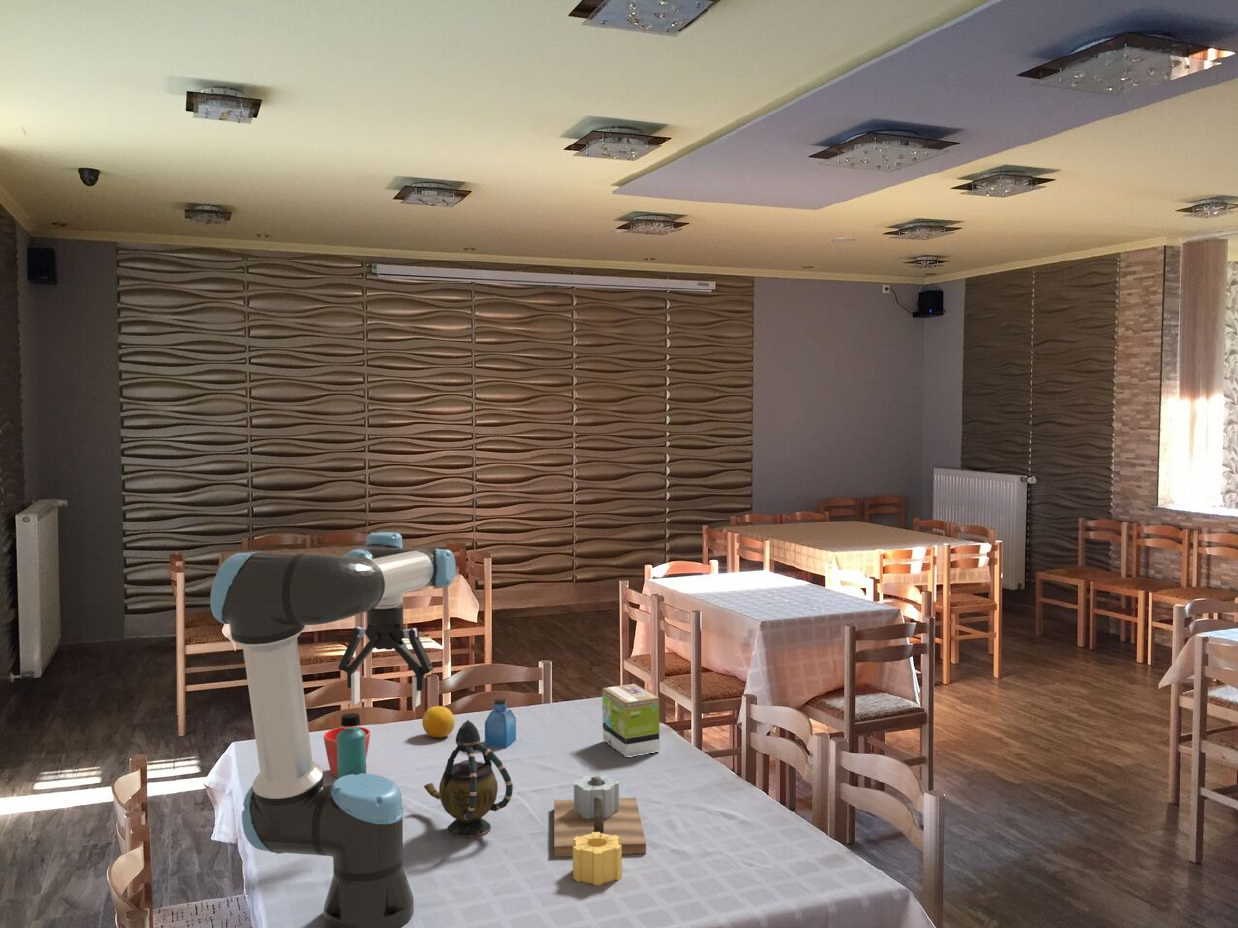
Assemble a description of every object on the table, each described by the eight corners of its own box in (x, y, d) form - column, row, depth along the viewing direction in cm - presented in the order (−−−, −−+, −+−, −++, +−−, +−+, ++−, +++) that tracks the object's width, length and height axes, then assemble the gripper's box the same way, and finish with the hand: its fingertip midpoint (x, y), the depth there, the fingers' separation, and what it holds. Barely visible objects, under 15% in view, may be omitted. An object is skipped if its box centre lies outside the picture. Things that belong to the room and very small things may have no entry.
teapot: (468, 851, 198) (467, 735, 197) (403, 815, 217) (402, 709, 216) (517, 834, 207) (517, 723, 206) (450, 800, 225) (449, 698, 224)
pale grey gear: (626, 812, 213) (626, 784, 212) (590, 822, 208) (590, 793, 207) (602, 798, 220) (601, 771, 220) (566, 807, 215) (566, 780, 215)
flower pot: (373, 776, 241) (373, 736, 240) (326, 782, 237) (325, 741, 236) (367, 762, 251) (367, 723, 250) (322, 768, 246) (321, 729, 246)
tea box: (601, 741, 266) (601, 686, 265) (635, 736, 270) (635, 682, 269) (625, 759, 252) (625, 701, 252) (660, 753, 257) (660, 696, 256)
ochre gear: (622, 884, 184) (622, 852, 184) (573, 886, 184) (573, 853, 183) (619, 861, 194) (619, 831, 193) (572, 863, 193) (572, 832, 193)
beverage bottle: (359, 809, 220) (358, 719, 219) (331, 807, 221) (330, 717, 221) (372, 798, 226) (371, 711, 226) (345, 796, 228) (344, 709, 227)
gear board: (646, 853, 197) (645, 808, 197) (554, 856, 196) (554, 811, 196) (635, 806, 221) (635, 766, 221) (554, 808, 220) (553, 768, 220)
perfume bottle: (484, 745, 263) (484, 700, 262) (494, 738, 269) (494, 694, 268) (506, 747, 261) (506, 702, 261) (516, 740, 267) (515, 696, 266)
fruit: (461, 735, 272) (460, 705, 271) (440, 743, 265) (440, 713, 265) (436, 729, 277) (436, 701, 276) (416, 737, 270) (415, 708, 269)
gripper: (447, 603, 215) (447, 701, 216) (337, 600, 219) (338, 697, 219) (435, 609, 207) (436, 711, 208) (321, 606, 211) (323, 706, 212)
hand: (385, 704), depth 214 cm, fingers open, 13 cm apart
